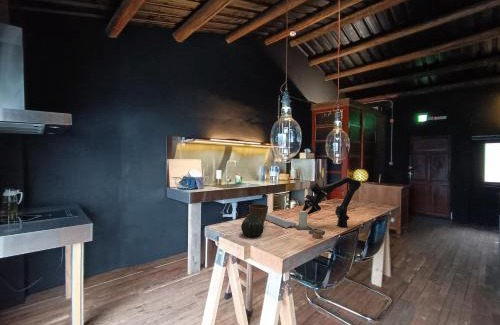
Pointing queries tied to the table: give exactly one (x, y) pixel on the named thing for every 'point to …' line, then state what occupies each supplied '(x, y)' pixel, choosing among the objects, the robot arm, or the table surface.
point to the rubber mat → (302, 228)
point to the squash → (252, 226)
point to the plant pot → (259, 211)
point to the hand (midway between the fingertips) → (304, 212)
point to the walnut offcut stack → (317, 234)
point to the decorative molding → (279, 221)
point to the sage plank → (302, 219)
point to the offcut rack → (315, 229)
